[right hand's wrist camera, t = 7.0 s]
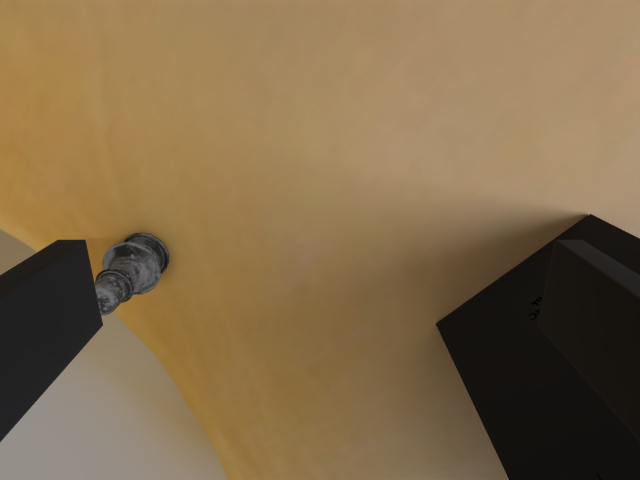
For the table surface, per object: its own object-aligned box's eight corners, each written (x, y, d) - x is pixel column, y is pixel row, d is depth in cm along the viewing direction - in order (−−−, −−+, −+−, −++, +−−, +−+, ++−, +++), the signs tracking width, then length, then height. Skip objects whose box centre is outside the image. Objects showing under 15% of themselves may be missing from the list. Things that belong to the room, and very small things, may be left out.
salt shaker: (148, 289, 49) (96, 352, 37) (106, 253, 47) (39, 308, 36) (182, 257, 47) (139, 313, 36) (141, 219, 46) (83, 265, 34)
